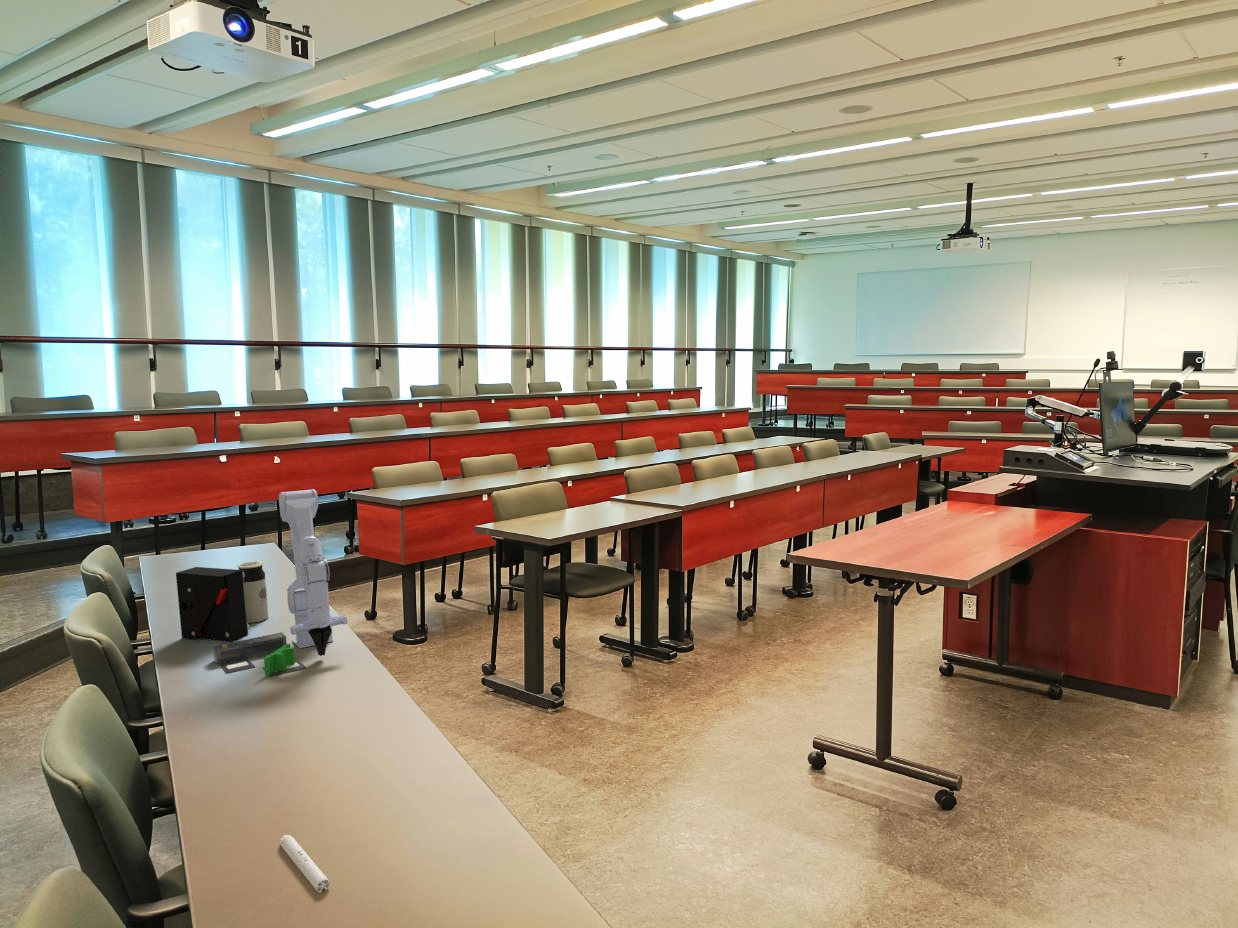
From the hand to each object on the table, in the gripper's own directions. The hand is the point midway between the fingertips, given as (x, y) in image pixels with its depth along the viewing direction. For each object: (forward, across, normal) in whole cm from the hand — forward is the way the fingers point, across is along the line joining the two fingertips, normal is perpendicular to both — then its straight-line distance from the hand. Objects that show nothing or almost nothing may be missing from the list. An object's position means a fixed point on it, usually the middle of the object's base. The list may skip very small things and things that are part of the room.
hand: (321, 654), depth 225 cm
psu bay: (+1, -14, +17) cm, 22 cm away
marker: (+2, -32, -94) cm, 99 cm away
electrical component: (+2, -18, +42) cm, 46 cm away
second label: (+1, -10, 0) cm, 10 cm away
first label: (+1, -19, +10) cm, 22 cm away
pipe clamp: (+1, -10, 0) cm, 10 cm away
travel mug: (+2, -5, +52) cm, 52 cm away
